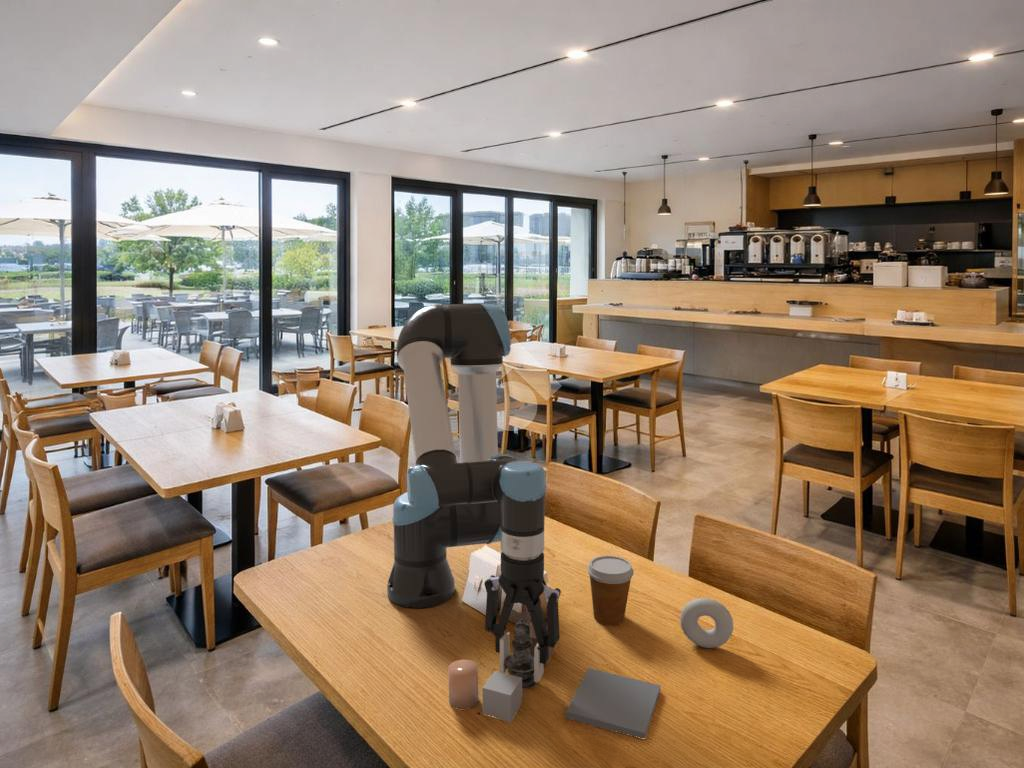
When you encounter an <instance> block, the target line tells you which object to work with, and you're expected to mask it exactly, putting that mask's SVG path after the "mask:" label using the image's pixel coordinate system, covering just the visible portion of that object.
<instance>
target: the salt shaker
mask: <svg viewBox="0 0 1024 768" xmlns="http://www.w3.org/2000/svg"><path fill="white" fill-rule="evenodd" d="M511 645H512V646H513V647H512V648H513V649H512V650H513V651H512V653H511V654H510V656H508V657H507V658H506V660H505V664H506V666H507V669H506V670H507V671H508V674H510V675H513V676H517V677H521V678H522V690H528V689H530V688H533V687H534V686H535V685H536V683H537V682H534V656H533V655H531V654H530V646H531V645H532V641H531V640H530V626H529V624H528V623H527V622H525V621H524V619H523V618H520V619H519V621H518V622H516V623H515V624H514V625H513V639H512V640H511Z"/></svg>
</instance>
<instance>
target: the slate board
mask: <svg viewBox="0 0 1024 768" xmlns="http://www.w3.org/2000/svg"><path fill="white" fill-rule="evenodd" d="M660 694H661V685H660V684H657V683H654V682H653V683H652V682H649V681H644V680H641V679H637V678H631V677H627V676H625V675H620V674H616V673H612V672H607V671H604V670H600V669H595V668H591V667H588V668H587V670H586V672H585V673H584V676H583V678H582V680H581V681H580V684H579V685H578V687H577V690H576V691H575V693H574V695H573V697H572V700H571V701H570V703H569V705H568V707H567V708H566V711H565V719H569V720H571V721H574V722H577V723H578V722H579V723H581V724H582V723H583V724H586V725H590V726H592V727H597V728H599V729H600V728H601V729H603V728H604V729H603V730H607V729H608V730H607V731H610V730H613V731H612V732H614V731H617V732H616V733H618V732H620V733H619V734H621V733H624V734H623V735H625V734H629V735H632V736H635V737H634V738H636V736H637V737H640V738H645V737H647V735H648V732H647V730H648V731H649V729H648V727H649V728H650V726H649V724H650V725H651V722H652V719H653V716H652V715H654V713H653V712H654V711H655V710H656V707H655V706H657V704H658V700H659V696H660ZM654 709H655V710H654ZM651 718H652V719H651ZM650 721H651V722H650ZM646 734H647V735H646ZM632 736H631V737H632ZM645 739H646V738H645Z"/></svg>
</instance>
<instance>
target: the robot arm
mask: <svg viewBox="0 0 1024 768" xmlns="http://www.w3.org/2000/svg"><path fill="white" fill-rule="evenodd" d="M511 337H512V336H511V329H510V325H509V321H508V318H507V315H506V313H505V311H504V309H503V308H502V307H501V306H500V305H498V304H492V303H465V304H464V303H458V304H457V303H455V304H454V303H452V304H441V303H439V304H437V303H436V304H429V305H427V306H425V307H422V308H421V309H418V310H417V311H416V312H414V313H413V314H412V315H411V316H410V317H409V318H408V319H407V321H406V322H405V323H404V325H403V327H402V329H401V331H400V333H399V336H398V339H397V343H396V358H397V364H398V366H399V367H400V368H401V369H402V370H403V372H404V373H403V375H404V376H403V377H404V382H405V383H404V384H405V390H406V399H407V405H408V415H409V421H410V431H411V439H412V445H413V453H414V462H415V465H414V466H410V467H408V468H407V469H406V492H404V493H402V494H400V495H399V496H398V497H397V498H396V499H395V501H394V503H393V507H392V509H393V510H392V518H391V519H392V524H393V552H394V553H393V557H394V562H393V565H392V567H391V571H390V575H389V576H388V581H387V585H386V587H387V590H386V591H387V592H386V593H387V594H388V595H387V594H386V595H387V597H388V600H389V601H390V602H392V603H393V604H395V605H397V606H401V607H403V606H404V607H405V608H408V607H412V608H411V609H422V608H421V607H426V608H431V607H430V606H432V607H435V606H438V604H439V605H441V604H444V603H445V602H448V600H450V599H451V598H452V597H453V595H454V594H455V591H456V589H455V586H456V585H455V583H456V582H455V578H454V576H453V573H452V569H451V567H450V564H449V561H448V559H447V549H448V548H453V547H456V548H457V547H464V546H473V545H474V546H475V545H485V544H486V545H490V544H493V543H498V542H500V550H501V553H500V575H499V576H495V575H494V574H491V575H490V576H489V577H488V578H487V579H486V580H485V581H484V584H483V585H484V588H485V591H486V605H485V607H486V608H485V621H484V622H485V624H484V630H485V632H487V633H492V634H493V635H494V638H495V642H494V643H495V646H494V647H495V648H494V649H495V650H494V651H495V652H496V653H498V654H499V672H502V673H506V671H507V670H508V669H507V666H506V664H505V660H506V658H507V657H508V656H510V655H511V654H510V651H511V650H510V647H511V645H510V641H511V640H510V638H511V637H510V635H511V634H510V632H509V631H506V630H507V629H508V624H509V620H510V617H511V615H512V612H513V608H514V605H515V604H521V605H523V606H525V607H526V611H527V612H528V613H529V616H530V620H531V622H532V624H533V627H534V631H535V634H536V638H537V641H538V643H537V645H536V646H535V648H534V674H533V675H534V682H536V683H539V682H540V680H541V678H542V677H543V676H544V664H545V663H546V661H547V660H548V658H549V646H550V647H554V646H555V647H556V645H557V643H558V641H559V640H560V619H559V615H560V613H559V599H560V597H561V593H562V591H561V589H560V588H558V587H557V588H552V587H549V586H548V585H547V583H546V581H545V578H544V577H545V576H544V575H545V553H544V551H545V519H546V518H545V517H546V515H545V512H546V509H545V508H546V491H547V483H546V474H545V468H544V467H543V466H542V465H541V464H540V463H536V462H534V461H530V460H529V461H528V460H519V459H516V457H513V456H512V455H510V454H507V453H499V450H498V448H499V446H498V445H499V444H498V440H499V439H498V438H499V437H498V399H497V396H498V395H497V372H498V370H499V369H500V368H502V367H503V363H504V360H503V359H504V358H505V357H507V356H509V355H510V353H511V348H512V347H511V346H512V338H511ZM444 358H446V359H447V358H449V359H450V366H451V367H452V369H453V370H455V371H456V373H457V385H458V387H457V389H458V391H457V392H458V398H457V399H458V425H459V426H458V427H459V428H458V429H459V430H458V431H459V462H458V461H457V454H456V448H455V443H454V437H453V432H452V431H453V430H452V426H451V420H450V414H449V409H448V404H447V403H448V402H447V398H446V392H445V385H444V380H443V379H444V378H443V373H442V368H441V364H442V363H443V360H444ZM500 587H501V588H502V590H503V592H504V594H505V598H504V600H503V602H502V603H503V604H502V605H503V607H502V608H501V612H500V615H499V618H498V610H499V609H498V608H499V605H498V604H499V591H500V590H499V588H500ZM542 594H544V598H545V602H547V603H546V618H547V619H546V621H547V626H548V631H547V627H546V621H545V617H544V614H543V613H544V612H543V610H542V606H541V602H542V601H541V598H540V596H541V595H542ZM497 620H498V621H497Z"/></svg>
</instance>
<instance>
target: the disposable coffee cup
mask: <svg viewBox="0 0 1024 768" xmlns="http://www.w3.org/2000/svg"><path fill="white" fill-rule="evenodd" d="M586 570H587V572H588V573H587V574H588V575H589V582H590V591H591V601H592V611H593V618H594V620H595V621H596V622H598V623H599V624H602V625H606V626H616V625H619V624H622V623H624V620H625V615H626V611H627V610H626V608H627V603H628V598H629V592H630V586H631V580H632V579H633V576H634V569H633V567H632V564H631V562H630V560H628V559H625V558H624V557H620V556H616V555H600V556H599V555H598V556H595V557H594V558H592V559H591V560H590V562H589V564H588V566H587V569H586Z"/></svg>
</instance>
